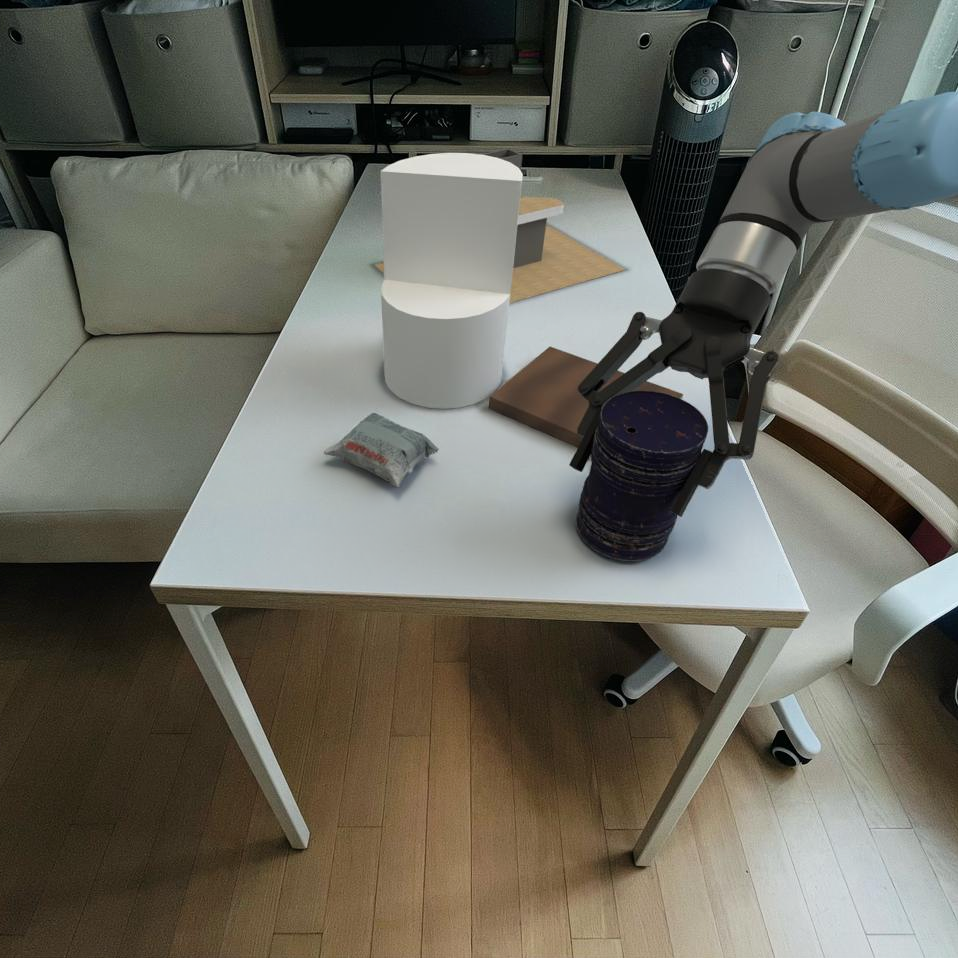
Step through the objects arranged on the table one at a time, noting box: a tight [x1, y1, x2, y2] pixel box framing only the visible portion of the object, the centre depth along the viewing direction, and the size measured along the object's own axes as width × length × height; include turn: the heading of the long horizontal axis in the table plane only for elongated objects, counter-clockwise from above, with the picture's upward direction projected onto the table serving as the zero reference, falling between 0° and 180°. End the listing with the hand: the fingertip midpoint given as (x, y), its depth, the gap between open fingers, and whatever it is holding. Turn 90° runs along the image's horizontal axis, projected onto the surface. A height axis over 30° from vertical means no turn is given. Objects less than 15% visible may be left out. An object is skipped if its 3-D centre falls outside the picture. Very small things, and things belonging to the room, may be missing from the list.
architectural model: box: [374, 148, 626, 304], centre depth 115 cm, size 38×25×20 cm, turn 115°
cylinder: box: [380, 152, 524, 410], centre depth 88 cm, size 17×17×28 cm
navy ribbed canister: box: [575, 391, 709, 562], centre depth 68 cm, size 10×10×15 cm
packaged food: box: [323, 412, 440, 488], centre depth 82 cm, size 9×12×5 cm
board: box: [487, 346, 684, 448], centre depth 89 cm, size 20×16×2 cm
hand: (623, 490), depth 66 cm, fingers closed on navy ribbed canister, 10 cm apart
